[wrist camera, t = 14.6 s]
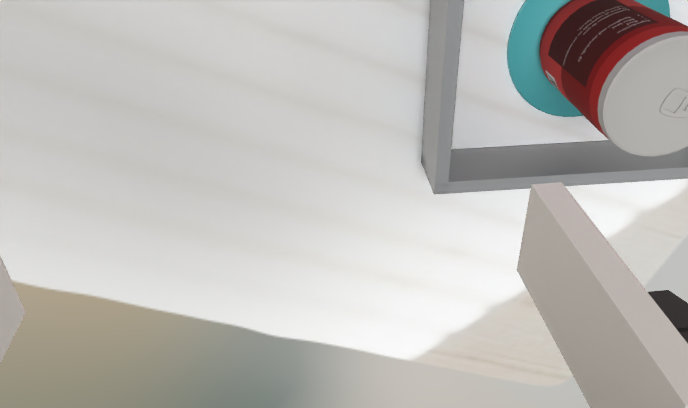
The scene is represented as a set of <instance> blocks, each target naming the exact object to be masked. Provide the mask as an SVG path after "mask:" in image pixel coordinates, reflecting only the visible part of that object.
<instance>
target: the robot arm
mask: <svg viewBox="0 0 688 408" xmlns="http://www.w3.org/2000/svg"><path fill="white" fill-rule="evenodd" d="M517 271H518V273H519V275H520V277H521V278H522V280H523V282H524V284H525V286H526V288H527V290H528V292H529V293H530V295H531V297H532V299H533V301H534V303H535V305H536V307H537V308H538V310H539V312H540V314H541V316H542V318H543V320H544V322H545V323H546V325H547V327H548V329H549V331H550V333H551V335H552V337H553V338H554V340H555V342H556V344H557V346H558V348H559V350H560V352H561V353H562V355H563V357H564V359H565V361H566V363H567V365H568V367H569V368H570V370H571V372H572V374H573V376H574V378H575V380H576V382H577V383H578V385H579V387H580V389H581V391H582V393H583V395H584V397H585V398H586V400H587V402H588V404H589V406H590V408H688V303H687V302H685V301H684V300H682V299H681V298H679V297H678V296H676V295H675V294H673V293H672V292H670V291H669V290H664V291H654V292H647V291H646V290H645V288H644V287H643V286H642V284H641V283H640V282H639V281H638V279H637V278H636V277H635V276H634V274H633V273H632V272H631V270H630V269H629V268H628V267H627V265H626V264H625V263H624V261H623V260H622V259H621V258H620V256H619V255H618V254H617V253H616V251H615V250H614V249H613V247H612V246H611V245H610V244H609V242H608V241H607V240H606V238H605V237H604V236H603V235H602V233H601V232H600V231H599V230H598V228H597V227H596V226H595V224H594V223H593V222H592V221H591V219H590V218H589V217H588V215H587V214H586V213H585V212H584V210H583V209H582V208H581V207H580V205H579V204H578V203H577V201H576V200H575V199H574V198H573V196H572V195H571V194H570V192H569V191H568V190H567V189H566V187H565V186H564V185H563V184H562V182H557V183H544V184H532V185H531V191H530V197H529V202H528V208H527V214H526V220H525V226H524V232H523V238H522V243H521V249H520V255H519V261H518V267H517ZM25 313H26V312H25V310H24V308H23V305H22V303H21V301H20V299H19V297H18V294H17V292H16V290H15V288H14V285H13V283H12V281H11V279H10V276H9V274H8V272H7V270H6V267H5V265H4V263H3V261H2V258H1V256H0V363H1V360H2V359H3V357H4V355H5V353H6V351H7V348H8V347H9V345H10V343H11V341H12V339H13V337H14V335H15V333H16V331H17V329H18V327H19V325H20V323H21V321H22V319H23V317H24V315H25Z"/></svg>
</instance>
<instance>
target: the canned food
mask: <svg viewBox="0 0 688 408" xmlns="http://www.w3.org/2000/svg"><path fill="white" fill-rule="evenodd" d="M539 54H540V60H541V66H542V69H543V71H544V74H545V76H546V77H547V79H548V80H549V81H550V83H551V84H552V85H553V86H554V87H555V88H556V89H557V90H558V91H559V92H560V93H561V94H562V95H563V96H564V97H565V98H566V99H567V100H568V101H570V102H571V103H572V104H573V105H574V106H575V107H576V108H577V109H578V110H579V111H580V112H581V113H582V114H583V115H584V116H585V117H586V118H587V119H588V120H589V121H590V122H591V123H592V124H593V125H594V126H595V127H596V128H597V129H598V130H599V131H600V132H601V133H602V134H604V135H605V136H606V137H607V138H608V139H609V140H610V141H611V142H613V143H614V144H615V145H616V146H618V147H620V148H621V149H622V150H625V151H627V152H629V153H631V154H635V155H639V156H660V155H666V154H670V153H673V152H676V151H679V150H681V149H683V148H685V147H687V146H688V26H686V25H684V24H682V23H680V22H678V21H675V20H673V19H671V18H669V17H667V16H665V15H663V14H661V13H659V12H657V11H655V10H653V9H651V8H649V7H647V6H645V5H643V4H641V3H638V2H636V1H634V0H571V1H570V2H568V3H567V4H565V5H564V6H563V7H561V8H560V9H559V10H558V11H557V12H556V13H555V14H554V15H553V16H552V18H551V19H550V21H549V22H548V24H547V25H546V27H545V30H544V32H543V34H542V37H541V42H540V52H539Z"/></svg>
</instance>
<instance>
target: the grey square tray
mask: <svg viewBox="0 0 688 408" xmlns="http://www.w3.org/2000/svg"><path fill="white" fill-rule="evenodd" d="M570 1H571V0H526V1H525V2H524V4H523V6H522V7H521V9H520V11H519V12H518V15H517V17H516V19H515V21H514V23H513V26H512V29H511V33H510V37H509V42H508V51H507V59H508V67H509V72H510V76H511V78H512V81H513V83H514V85H515V87H516V89H517V90H518V92H519V93H520V94H521V95H522V97H523V98H524V99H525V100H526V101H527V102H528V103H530V104H531V105H532V106H534V107H535V108H537V109H539V110H541V111H543V112H545V113H548V114H552V115H556V116H563V117H574V116H583V114H582V113H581V112H580V111H579V110H578V109H577V108H576V107H575V106H574V105H573V104H572V103H571V102H570V101H568V100H567V99H566V98H565V97H564V96H563V95H562V94H561V93H560V92H559V91H558V90H557V89H556V88H555V87H554V86H553V85H552V84H551V83H550V81H549V80H548V79H547V77H546V76H545V74H544V71H543V69H542V66H541V60H540V54H539V52H540V42H541V37H542V34H543V32H544V30H545V27H546V25H547V24H548V22H549V21H550V19H551V18H552V16H553V15H554V14H555V13H556V12H557V11H558V10H559V9H560V8H561V7H563V6H564V5H565V4H567V3H568V2H570ZM634 1H636V2H638V3H641V4H643V5H645V6H647V7H649V8H651V9H653V10H655V11H657V12H659V13H661V14H663V15H665V16H667V17H669V18H670V10H669V3H668V0H634ZM463 6H464V0H430V17H429V35H428V53H427V70H426V88H425V106H424V124H423V141H422V159H421V163H422V165H423V168H424V170H425V173H426V175H427V178H428V180H429V183H430V185H431V188H432V190H433V193H434V194H446V193H462V192H478V191H494V190H510V189H526V188H531V185H532V184H544V183H557V182H562V184H563V185H564V186H574V185H590V184H606V183H622V182H638V181H654V180H670V179H686V178H688V146H687V147H685V148H683V149H681V150H679V151H676V152H673V153H670V154H666V155H660V156H639V155H635V154H631V153H629V152H627V151H625V150H622V149H621V148H620V147H618V146H616V145H615V144H614V143H613V142H611V141H593V142H575V143H558V144H541V145H524V146H507V147H490V148H473V149H455V150H451V145H452V134H453V122H454V110H455V99H456V87H457V76H458V64H459V53H460V41H461V29H462V18H463Z"/></svg>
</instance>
